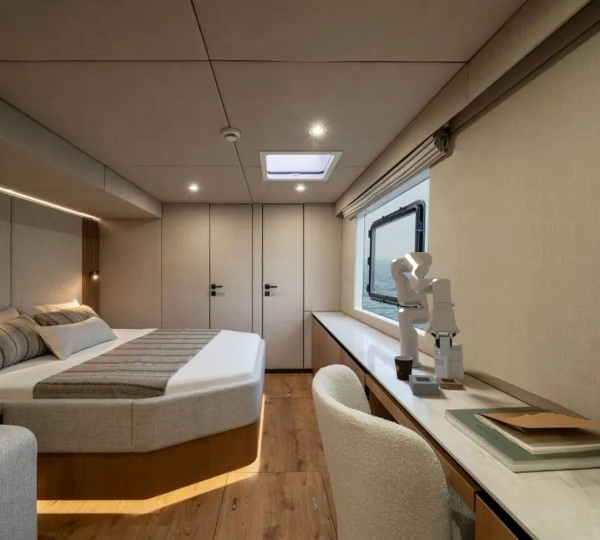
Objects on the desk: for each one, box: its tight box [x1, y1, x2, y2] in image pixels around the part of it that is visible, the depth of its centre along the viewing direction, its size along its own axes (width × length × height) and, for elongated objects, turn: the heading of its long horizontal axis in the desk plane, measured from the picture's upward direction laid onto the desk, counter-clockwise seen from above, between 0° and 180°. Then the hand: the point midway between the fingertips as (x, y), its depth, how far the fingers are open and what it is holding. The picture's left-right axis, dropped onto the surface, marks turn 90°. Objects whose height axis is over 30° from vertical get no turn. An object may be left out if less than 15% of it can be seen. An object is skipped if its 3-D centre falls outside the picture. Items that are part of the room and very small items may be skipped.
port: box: [408, 374, 440, 397], centre depth 136 cm, size 12×10×5 cm
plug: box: [438, 333, 450, 356], centre depth 141 cm, size 4×4×9 cm
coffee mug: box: [394, 355, 413, 381], centre depth 155 cm, size 12×9×10 cm
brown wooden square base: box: [435, 376, 464, 390], centre depth 141 cm, size 9×9×2 cm
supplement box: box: [433, 341, 465, 381], centre depth 153 cm, size 10×9×17 cm
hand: (443, 347), depth 141 cm, fingers closed on plug, 4 cm apart
